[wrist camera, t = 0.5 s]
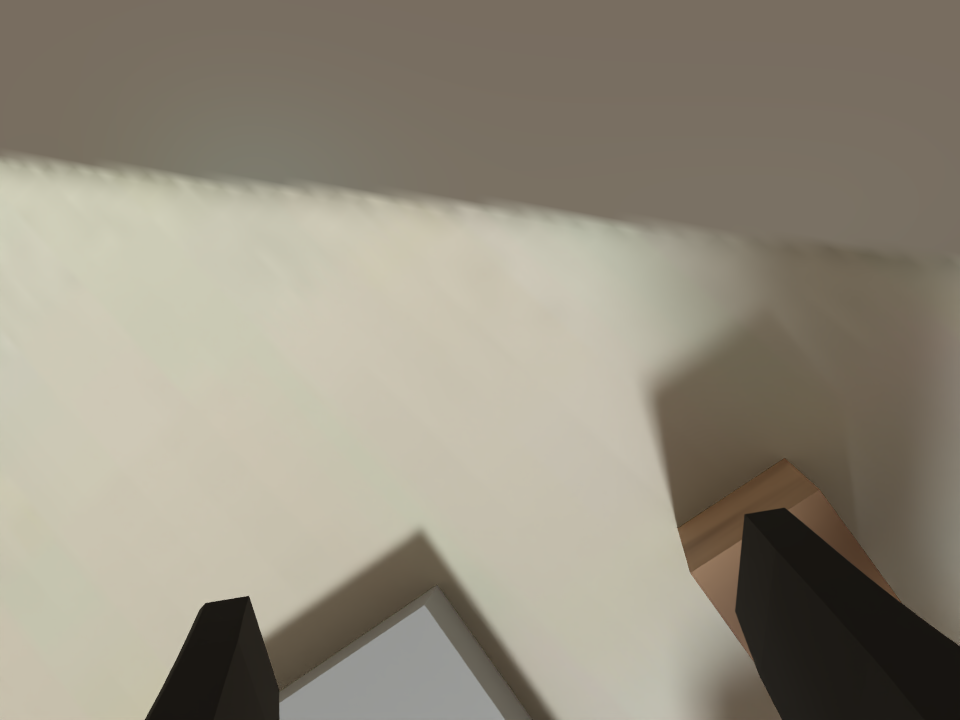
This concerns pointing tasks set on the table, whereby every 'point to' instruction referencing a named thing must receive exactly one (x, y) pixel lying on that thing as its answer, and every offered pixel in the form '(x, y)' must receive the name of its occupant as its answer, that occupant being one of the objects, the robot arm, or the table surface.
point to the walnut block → (720, 532)
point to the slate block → (406, 673)
